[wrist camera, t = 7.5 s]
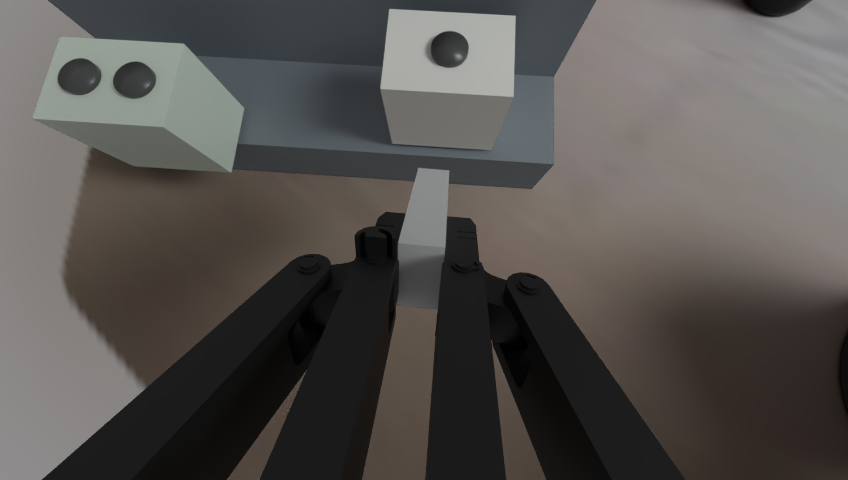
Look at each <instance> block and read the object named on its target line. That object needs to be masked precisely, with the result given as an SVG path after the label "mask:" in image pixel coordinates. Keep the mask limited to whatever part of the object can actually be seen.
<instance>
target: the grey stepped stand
mask: <svg viewBox="0 0 848 480" xmlns="http://www.w3.org/2000/svg"><path fill="white" fill-rule="evenodd" d="M48 1H49V2H51V3H52V4H53V5H54V6H56V7H57V8H59V10H61V11H62V12H63V13H65V14H66V15H67V16H68V17H70V18H71V19H72V20H73V21H74V22H76V23H77V24H78V25H79V26H81V27H82V28H83V29H84V30H86V31H87V32H88V33H89V34H91V35H92V36H93V37H95V38H96V39H112V40H130V41H147V42H164V43H182V44H185V45H186V46H187V47H188V48H189V49H190V51H191V52H192V53H193V54H194V55H195V56H196V57H197V58H198V59H199V60H200V61H201V62H202V63H203V64H204V66H205V67H206V68H207V69H208V70H209V71H210V72H211V73H212V74H213V75H214V76H215V77H216V78H217V79H218V81H219V82H220V83H221V84H222V85H223V86H224V87H225V88H226V89H227V90H228V91H229V92H230V93H231V94H232V96H233V97H234V98H235V99H236V100H237V101H238V102H239V103H240V104H241V105H242V106H243V107H244V112H243V117H242V122H241V127H240V132H239V137H238V142H237V148H236V153H235V158H234V163H233V168H232V169H244V170H259V171H274V172H289V173H304V174H319V175H334V176H349V177H364V178H379V179H394V180H409V181H415V178H416V175H417V171H418V168H426V169H438V170H449V183H453V184H468V185H483V186H498V187H513V188H528V189H532V188H533V187H534V186H535V185H536V183H537V182H538V181H539V180H540V179H541V178H542V177H543V176H544V175H545V174H546V172H547V171H548V170H549V169H550V168H551V167H552V166H553V165H554V75H555V74H556V72H557V70H558V68H559V66H560V65H561V63H562V61H563V59H564V57H565V56H566V54H567V52H568V50H569V48H570V47H571V45H572V43H573V41H574V39H575V38H576V36H577V34H578V32H579V30H580V29H581V27H582V25H583V23H584V21H585V20H586V18H587V16H588V14H589V12H590V11H591V9H592V7H593V5H594V3H595V2H596V0H48ZM389 9H401V10H419V11H437V12H456V13H474V14H493V15H511V16H516V22H515V63H514V97H513V100H512V102H511V105H510V107H509V109H508V112H507V114H506V117H505V119H504V121H503V124H502V126H501V129H500V131H499V133H498V136H497V138H496V141H495V143H494V145H493V148H492V150H481V149H465V148H450V147H434V146H419V145H403V144H392V140H391V136H390V131H389V127H388V122H387V117H386V113H385V108H384V104H383V99H382V95H381V90H380V87H381V78H382V69H383V60H384V51H385V42H386V33H387V25H388V16H389Z"/></svg>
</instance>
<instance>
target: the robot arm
mask: <svg viewBox="0 0 848 480" xmlns="http://www.w3.org/2000/svg"><path fill="white" fill-rule="evenodd" d="M448 186H449V170H438V169H426V168H418V171H417V175H416V178H415V182H414V186H413V190H412V193H411V197H410V201H409V204H408V208H407V212H406V214H404V213H393V212H385V213H384V214H383V215H381V216H380V217H379V218H378V220H377V223H376V226H373V227H367V228H363V229H362V230H360V231H358V232H357V233H356V234H355V247H356V258H355V260H354V261H352V262H349V263H344V264H336V265H331V263H330V261H329V259H328V258H327V257H325V256H322V255H318V254H308V255H303V256H300V257H297V258H296V259H294V260H293V261H291V262H290V263H289V264H288V265H286V266H285V267H284V268H283V269H282V270H281V271H280V272H278V273H277V274H276V275H275V276H274V277H273V278H272V279H270V280H269V281H268V282H267V283H266V284H265V285H264V286H262V287H261V288H260V289H259V290H258V291H257V292H256V293H254V294H253V295H252V296H251V297H250V298H249V299H248V300H246V301H245V302H244V303H243V304H242V305H241V306H240V307H238V308H237V309H236V310H235V311H234V312H233V313H232V314H230V315H229V316H228V317H227V318H226V319H225V320H224V321H223V322H221V323H220V324H219V325H218V326H217V327H216V328H215V329H213V330H212V331H211V332H210V333H209V334H208V335H207V336H205V337H204V338H203V339H202V340H201V341H200V342H199V343H197V344H196V345H195V346H194V347H193V348H192V349H191V350H189V351H188V352H187V353H186V354H185V355H184V356H183V357H181V358H180V359H179V360H178V361H177V362H176V363H175V364H173V365H172V366H171V367H170V368H169V369H168V370H167V371H165V372H164V373H163V374H162V375H161V376H160V377H159V378H157V379H156V380H155V381H154V382H153V383H152V384H151V385H149V386H148V387H147V388H146V389H145V390H144V391H143V392H141V393H140V394H139V395H138V396H137V397H136V398H135V399H133V401H131V402H130V403H129V404H128V405H127V406H126V407H124V408H123V409H122V410H121V411H120V412H119V413H118V414H116V415H115V416H114V417H113V418H112V419H111V420H110V421H108V422H107V423H106V424H105V425H104V426H103V427H102V428H101V429H99V430H98V431H97V432H96V433H95V434H94V435H92V436H91V437H90V438H89V439H88V440H87V441H86V442H85V443H83V444H82V445H81V446H80V447H79V448H78V449H77V450H75V451H74V452H73V453H72V454H71V455H70V456H68V457H67V458H66V459H65V460H64V461H63V462H62V463H61V464H59V465H58V466H57V467H56V468H55V469H54V470H53V471H51V472H50V473H49V474H48V475H47V476H46V477H44V479H42V480H227V478H228V477H229V476H230V474H231V473H232V472H233V470H234V469H235V467H236V466H237V465H238V463H239V462H240V461H241V459H242V458H243V456H244V455H245V454H246V452H247V451H248V450H249V448H250V447H251V445H252V444H253V443H254V441H255V440H256V439H257V437H258V436H259V434H260V433H261V432H262V430H263V429H264V428H265V426H266V425H267V423H268V422H269V421H270V419H271V418H272V417H273V415H274V414H275V413H276V411H277V410H278V408H279V407H280V406H281V404H282V403H283V402H284V400H285V399H286V397H287V396H288V395H289V393H290V392H291V391H292V389H293V388H294V386H295V385H296V384H297V382H298V381H299V380H300V378H301V377H302V375H303V374H304V373H305V371H306V370H307V371H306V374H305V376H304V378H303V381H302V383H301V385H300V388H299V390H298V392H297V395H296V397H295V399H294V401H293V404H292V406H291V408H290V411H289V413H288V415H287V418H286V420H285V422H284V425H283V427H282V429H281V432H280V434H279V436H278V438H277V441H276V443H275V445H274V448H273V450H272V452H271V455H270V457H269V459H268V462H267V464H266V466H265V469H264V471H263V473H262V476H261V478H260V480H362V477H363V472H364V467H365V462H366V457H367V452H368V448H369V443H370V438H371V433H372V428H373V423H374V419H375V414H376V409H377V404H378V399H379V394H380V389H381V385H382V380H383V375H384V370H385V365H386V360H387V356H388V351H389V346H390V341H391V336H392V331H393V327H394V322H395V317H396V302H397V306H406V307H416V308H426V309H436V310H438V313H437V323H436V332H435V336H436V338H435V352H434V366H433V380H432V394H431V407H430V421H429V435H428V449H427V463H426V477H425V480H506V476H505V466H504V457H503V447H502V438H501V428H500V419H499V410H498V400H497V391H496V381H495V372H494V362H493V353H492V344H491V340H492V343H493V347H494V349H495V352H496V354H497V357H498V359H499V362H500V364H501V367H502V369H503V372H504V374H505V377H506V379H507V382H508V384H509V387H510V389H511V392H512V394H513V397H514V399H515V402H516V404H517V407H518V409H519V412H520V414H521V417H522V419H523V422H524V424H525V427H526V429H527V432H528V434H529V437H530V439H531V442H532V444H533V447H534V449H535V452H536V454H537V457H538V460H539V462H540V465H541V467H542V470H543V472H544V475H545V477H546V480H685V479H684V478H683V476H682V475H681V473H680V472H679V470H678V469H677V468H676V466H675V465H674V463H673V462H672V460H671V459H670V458H669V456H668V455H667V453H666V452H665V450H664V449H663V448H662V446H661V445H660V443H659V442H658V440H657V439H656V438H655V436H654V435H653V433H652V432H651V430H650V429H649V428H648V426H647V425H646V423H645V422H644V420H643V419H642V418H641V416H640V415H639V413H638V412H637V410H636V409H635V408H634V406H633V405H632V403H631V402H630V400H629V399H628V398H627V396H626V395H625V393H624V392H623V390H622V389H621V388H620V386H619V385H618V383H617V382H616V380H615V379H614V378H613V376H612V375H611V373H610V372H609V370H608V369H607V368H606V366H605V365H604V363H603V362H602V360H601V359H600V358H599V356H598V355H597V353H596V352H595V350H594V349H593V348H592V346H591V345H590V343H589V342H588V340H587V339H586V338H585V336H584V335H583V333H582V332H581V330H580V329H579V328H578V326H577V325H576V323H575V322H574V320H573V319H572V318H571V316H570V315H569V313H568V312H567V310H566V309H565V308H564V306H563V305H562V303H561V302H560V300H559V299H558V298H557V296H556V295H555V293H554V292H553V290H552V289H551V288H550V286H549V285H548V284H547V283H546V282H545V281H544V280H543V279H541V278H540V277H538V276H536V275H533V274H529V273H515V274H512V275H511V276H509V277H508V279H507V280H504V279H501V278H498V277H495V276H493V275H491V274H489V273H487V272H486V271H485V270H484V268H483V266H482V263H481V262H480V261H479V254H478V244H477V234H476V225H475V224H474V223H473V221H472V220H471V219H470V218H460V217H448V216H447V206H448ZM841 383H842V390H843V395H844V399H845V403H846V406H847V409H848V337H847V339H846V342H845V345H844V349H843V353H842V360H841Z"/></svg>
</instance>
